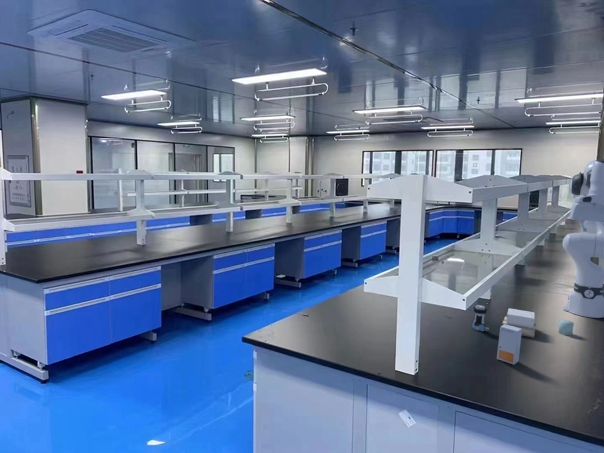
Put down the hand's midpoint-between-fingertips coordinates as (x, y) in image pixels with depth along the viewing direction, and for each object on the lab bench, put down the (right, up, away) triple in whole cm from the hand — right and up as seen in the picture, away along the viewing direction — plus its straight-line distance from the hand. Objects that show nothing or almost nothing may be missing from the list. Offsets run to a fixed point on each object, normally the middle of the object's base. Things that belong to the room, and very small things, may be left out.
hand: (596, 232), depth 183 cm
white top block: (-30, -38, +3) cm, 48 cm away
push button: (-48, -41, +2) cm, 63 cm away
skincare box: (-50, -44, -29) cm, 73 cm away
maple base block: (-31, -42, +4) cm, 52 cm away
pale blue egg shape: (-12, -42, +2) cm, 44 cm away
